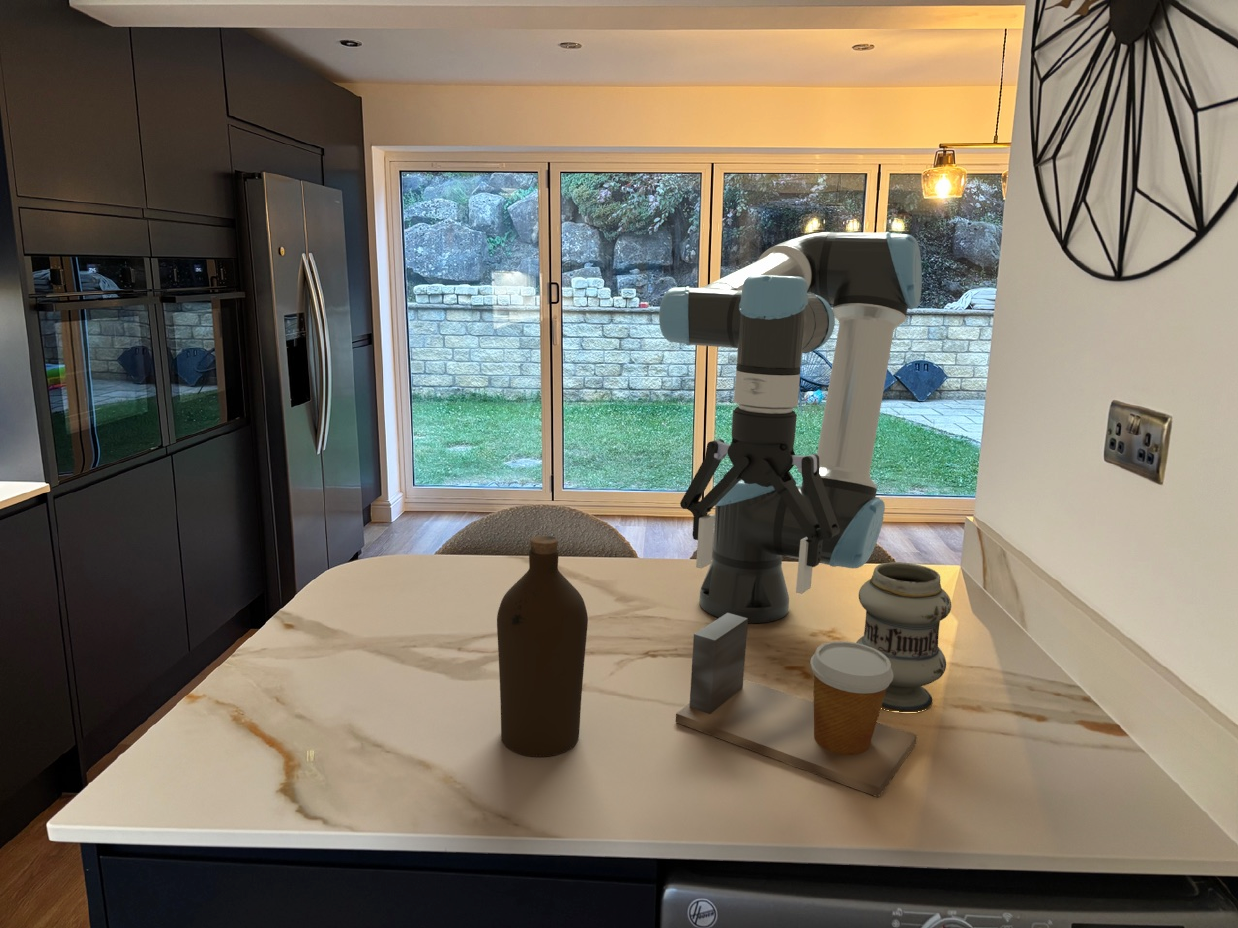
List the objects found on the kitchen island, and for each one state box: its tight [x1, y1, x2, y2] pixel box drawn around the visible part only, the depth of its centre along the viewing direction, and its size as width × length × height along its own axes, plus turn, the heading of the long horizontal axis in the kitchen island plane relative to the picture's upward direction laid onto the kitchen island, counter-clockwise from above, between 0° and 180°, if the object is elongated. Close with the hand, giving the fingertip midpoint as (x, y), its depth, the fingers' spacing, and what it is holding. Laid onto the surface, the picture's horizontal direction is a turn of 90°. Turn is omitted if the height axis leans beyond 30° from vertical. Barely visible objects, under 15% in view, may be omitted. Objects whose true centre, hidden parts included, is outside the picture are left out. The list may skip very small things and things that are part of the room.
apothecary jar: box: [855, 561, 952, 712], centre depth 117 cm, size 12×12×18 cm
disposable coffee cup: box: [810, 640, 894, 755], centre depth 104 cm, size 10×10×12 cm
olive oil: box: [496, 535, 589, 758], centre depth 103 cm, size 11×11×25 cm
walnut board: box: [675, 613, 918, 798], centre depth 107 cm, size 26×14×11 cm, turn 55°
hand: (751, 577), depth 108 cm, fingers open, 13 cm apart
